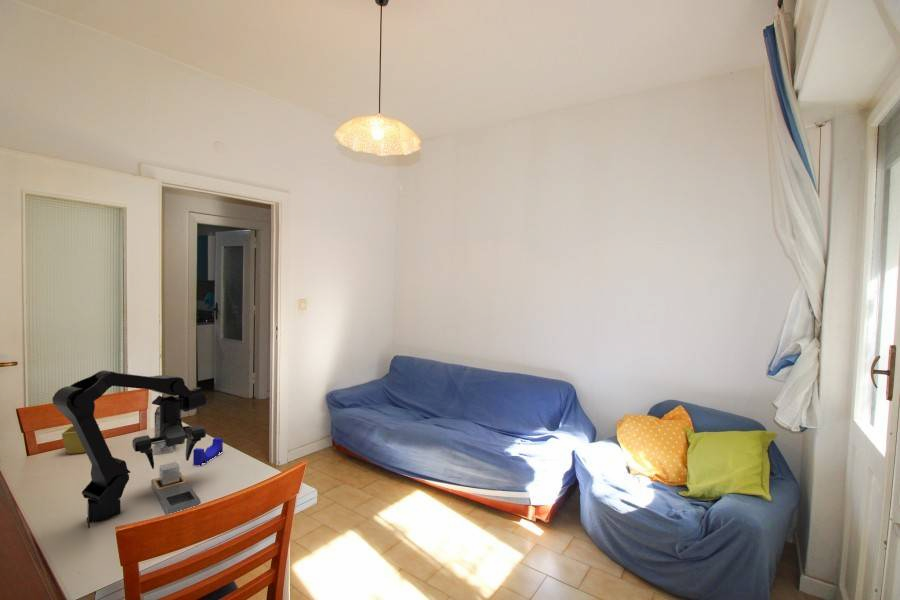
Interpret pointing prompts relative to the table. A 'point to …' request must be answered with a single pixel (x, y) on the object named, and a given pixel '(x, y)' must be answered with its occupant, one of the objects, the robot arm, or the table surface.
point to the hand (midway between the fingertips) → (170, 464)
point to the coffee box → (158, 447)
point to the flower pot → (72, 441)
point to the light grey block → (169, 474)
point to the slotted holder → (175, 495)
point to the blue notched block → (207, 452)
